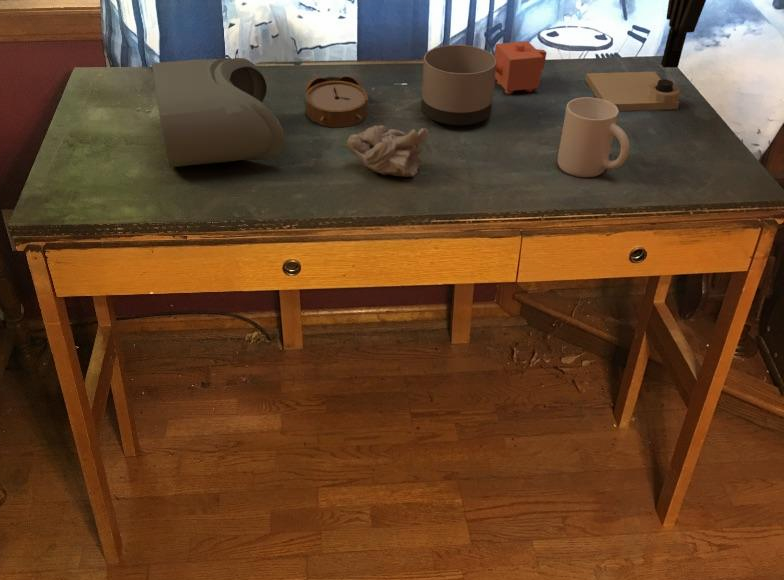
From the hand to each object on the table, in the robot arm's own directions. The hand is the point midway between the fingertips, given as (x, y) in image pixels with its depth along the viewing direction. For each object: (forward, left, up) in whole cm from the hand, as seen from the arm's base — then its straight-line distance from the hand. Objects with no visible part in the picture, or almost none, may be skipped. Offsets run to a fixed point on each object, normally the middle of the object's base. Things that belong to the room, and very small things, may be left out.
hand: (669, 65), depth 158 cm
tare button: (0, 0, -5) cm, 5 cm away
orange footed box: (+20, +20, -8) cm, 29 cm away
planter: (+15, +37, -8) cm, 41 cm away
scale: (+6, +2, -7) cm, 10 cm away
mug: (-13, +29, -8) cm, 33 cm away
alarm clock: (+28, +55, -8) cm, 62 cm away
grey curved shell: (+25, +79, -8) cm, 83 cm away
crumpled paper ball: (+4, +58, -8) cm, 59 cm away
